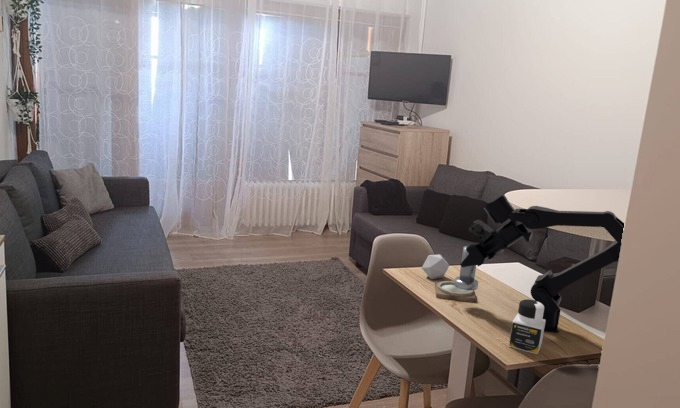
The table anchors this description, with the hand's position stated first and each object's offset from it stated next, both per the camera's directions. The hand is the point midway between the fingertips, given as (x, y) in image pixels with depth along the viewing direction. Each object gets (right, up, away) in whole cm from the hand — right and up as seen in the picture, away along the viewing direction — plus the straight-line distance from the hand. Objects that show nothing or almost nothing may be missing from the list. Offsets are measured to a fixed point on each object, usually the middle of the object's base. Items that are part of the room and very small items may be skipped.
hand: (464, 264), depth 167 cm
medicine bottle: (+10, -19, -24) cm, 32 cm away
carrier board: (-1, -11, +11) cm, 15 cm away
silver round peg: (+1, -7, +1) cm, 7 cm away
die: (-5, -8, +26) cm, 27 cm away
